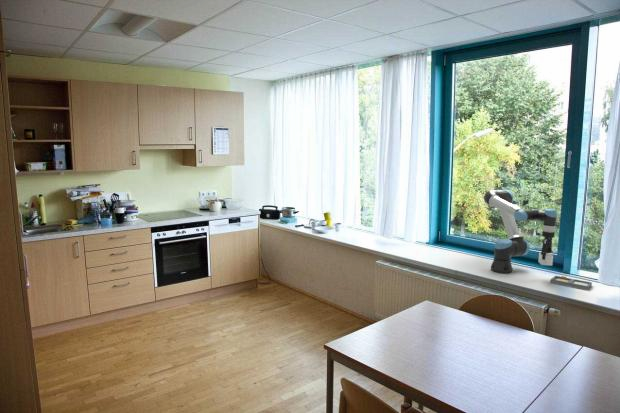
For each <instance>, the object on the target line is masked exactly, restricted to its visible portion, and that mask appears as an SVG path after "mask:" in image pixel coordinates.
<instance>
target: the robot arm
mask: <svg viewBox="0 0 620 413" xmlns="http://www.w3.org/2000/svg"><path fill="white" fill-rule="evenodd" d="M483 201H484V203H485V204H487V205H488V206H490V207H494V208H496V209H497V210H498V211H499V213H500V216H501V220H502V222H503V225H504V230H505V232H506V235H507V238H502V239H501V238H500V239H497V240H495V241H494V250H493V251H494V253H493V260H492V263H491V266H490V271H492V272H495V273H499V274H512V273H513V271H514V270H513V265H512V261H511V260H512V258H513V257H522V256H526V255H527V254H529V251H530V249H531V248H530V247H531V246H530V243H529V241H527V240H526V239H524V236H522V235H521V234H520V229H519V228H518V224H517V222H529V221H530V222H531V221H539V222H542V223H543V224H542V232H541V236H542V237H544V239H543V241H542V247H541V252H540V253H541V255H542V259H541V264H546V256H547V255H546V253H547V249H548V247H550V248H551V249H552V250H553V248H552V247H553V239H554V237H555V235H556V234H555V231H556V230H557V227H556V223H557V216H558V212H557V210H556V209H553V208H545V209H544V210H541V209H538V208H532V209H523V208H522V207H519V206H518V205H515V204H513V201H514V195H513V193H512V191H511V190H508V189H503V188H502V189H489V190H488V191H486V192H485V193H484V195H483ZM516 221H517V222H516ZM541 264H540V265H541Z"/></svg>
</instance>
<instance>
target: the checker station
mask: <svg viewBox="0 0 620 413" xmlns="http://www.w3.org/2000/svg"><path fill="white" fill-rule="evenodd" d="M550 284H554V285H559V286H565V287H569V288H574V289H580V290H584V291H589V289H591V288H592V287H593V286H592V285H593V282H592V281H587V280H581V279H576V278H569V277H567V275H561V276H559V275H554V276H553V277H552V278H550Z"/></svg>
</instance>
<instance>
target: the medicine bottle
mask: <svg viewBox="0 0 620 413" xmlns="http://www.w3.org/2000/svg"><path fill="white" fill-rule="evenodd" d="M552 253H553V248H552V249H551V248H550V247H548V249H547V253H546V255H547V256H546V264H541V259H542V255H541V252H539V253H538V262H537V263H539V264H540V265H541V266H551V267H552V266H553V265H554V264H553V263H554V255H553V254H552Z"/></svg>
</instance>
